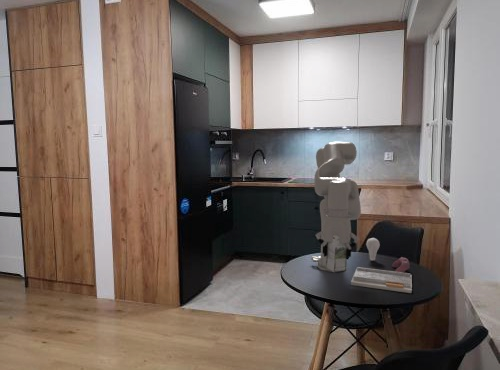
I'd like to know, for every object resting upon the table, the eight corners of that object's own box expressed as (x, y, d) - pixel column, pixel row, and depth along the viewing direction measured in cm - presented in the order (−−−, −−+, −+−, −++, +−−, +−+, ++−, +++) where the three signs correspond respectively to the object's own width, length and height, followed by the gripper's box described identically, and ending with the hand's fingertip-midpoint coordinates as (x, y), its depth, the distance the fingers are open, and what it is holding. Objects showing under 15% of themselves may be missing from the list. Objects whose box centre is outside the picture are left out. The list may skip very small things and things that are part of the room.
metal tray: (353, 279, 149) (353, 276, 149) (357, 270, 161) (357, 267, 161) (410, 287, 141) (410, 283, 141) (410, 276, 153) (410, 273, 152)
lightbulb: (363, 259, 181) (364, 236, 180) (375, 258, 181) (376, 236, 180) (368, 262, 175) (369, 239, 174) (381, 262, 175) (382, 239, 174)
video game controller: (404, 278, 159) (413, 264, 158) (394, 272, 160) (403, 259, 158) (400, 270, 169) (408, 257, 167) (390, 265, 169) (398, 252, 168)
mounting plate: (350, 284, 147) (350, 279, 147) (356, 270, 164) (356, 266, 163) (411, 293, 138) (411, 288, 138) (411, 277, 155) (411, 272, 155)
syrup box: (338, 265, 150) (339, 230, 148) (346, 270, 144) (348, 234, 142) (325, 267, 148) (326, 232, 146) (334, 273, 142) (335, 236, 140)
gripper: (313, 213, 143) (312, 257, 145) (360, 216, 136) (358, 263, 138) (317, 209, 149) (316, 251, 152) (362, 212, 143) (360, 256, 145)
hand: (336, 256), depth 145 cm, fingers closed on syrup box, 8 cm apart
